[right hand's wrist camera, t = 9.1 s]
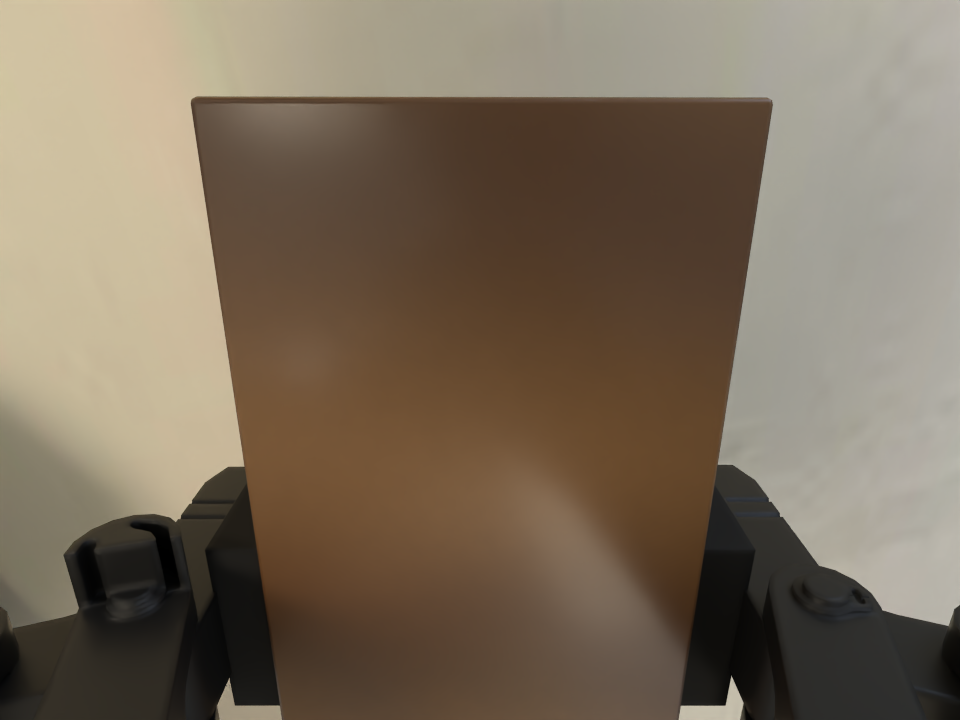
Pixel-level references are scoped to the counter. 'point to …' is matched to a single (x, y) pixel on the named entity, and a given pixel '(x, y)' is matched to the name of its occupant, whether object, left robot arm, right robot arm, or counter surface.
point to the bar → (481, 388)
